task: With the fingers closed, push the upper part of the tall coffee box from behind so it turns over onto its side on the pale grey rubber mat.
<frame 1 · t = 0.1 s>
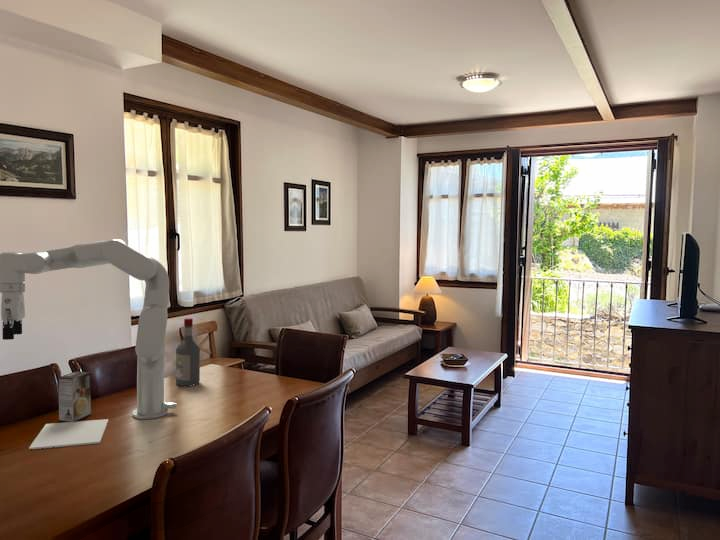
hand: (12, 336, 183), 31 cm above the table, tool pointing down, fingers open, 9 cm apart
coffee box: (75, 417, 193), on the table
liquor: (187, 384, 241), on the table
mat: (71, 434, 177), on the table
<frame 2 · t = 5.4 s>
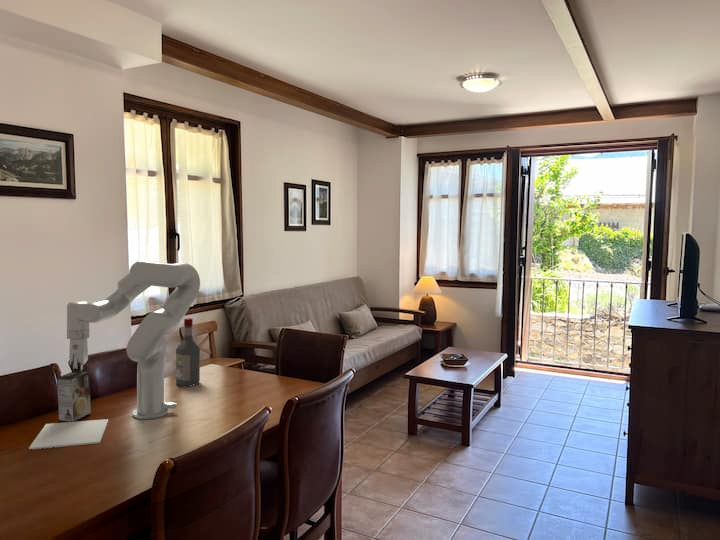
hand: (77, 381, 200), 11 cm above the table, tool pointing down, fingers closed
coffee box: (75, 417, 193), on the table, touching gripper
everything else where it was.
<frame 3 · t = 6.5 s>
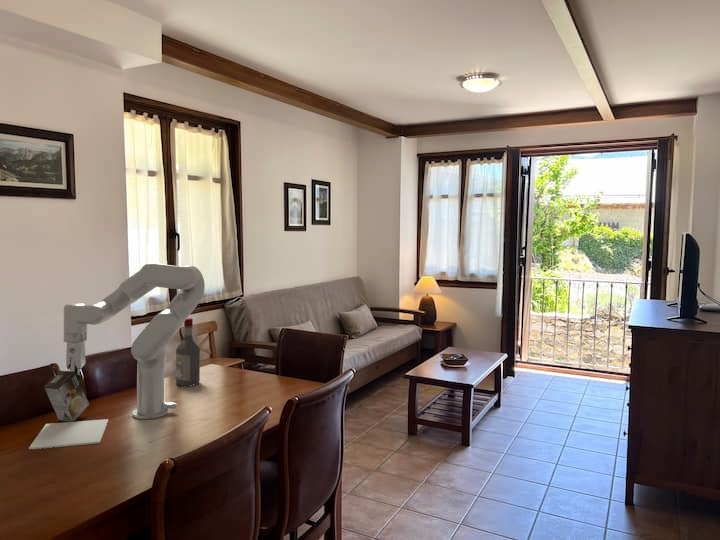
hand: (75, 385, 194), 11 cm above the table, tool pointing down, fingers closed
coffee box: (74, 412, 193), point 2 cm above the table
everything else where it was.
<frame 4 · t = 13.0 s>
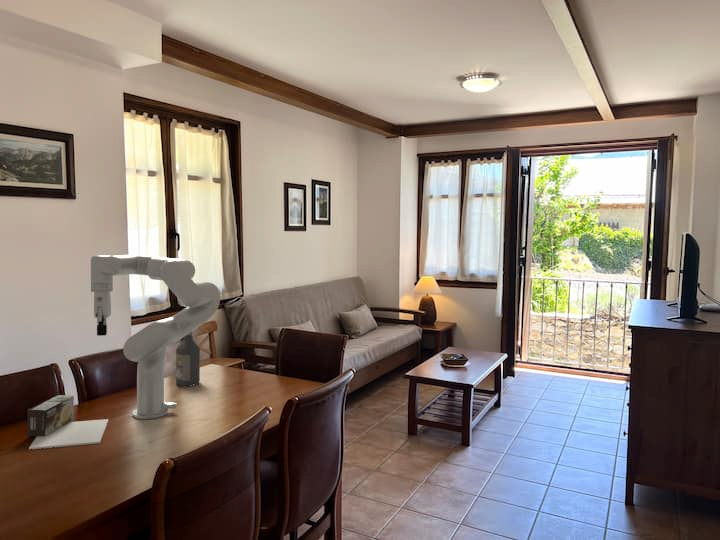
hand: (101, 335, 201), 29 cm above the table, tool pointing down, fingers closed
coffee box: (65, 407, 189), point 5 cm above the table, touching mat
everything else where it was.
at the end: coffee box tilted 89°; coffee box touching mat; coffee box inside the target area (3.1 cm from its centre), point 5.0 cm above the table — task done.
